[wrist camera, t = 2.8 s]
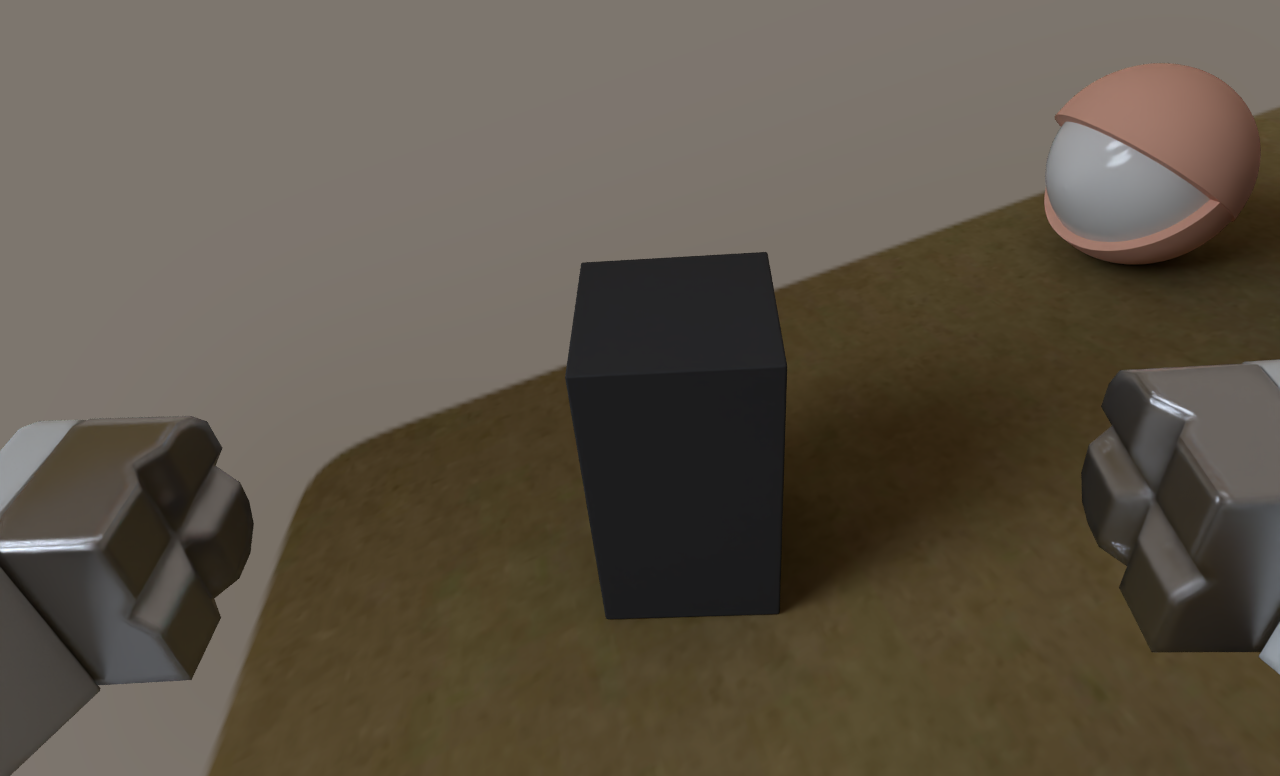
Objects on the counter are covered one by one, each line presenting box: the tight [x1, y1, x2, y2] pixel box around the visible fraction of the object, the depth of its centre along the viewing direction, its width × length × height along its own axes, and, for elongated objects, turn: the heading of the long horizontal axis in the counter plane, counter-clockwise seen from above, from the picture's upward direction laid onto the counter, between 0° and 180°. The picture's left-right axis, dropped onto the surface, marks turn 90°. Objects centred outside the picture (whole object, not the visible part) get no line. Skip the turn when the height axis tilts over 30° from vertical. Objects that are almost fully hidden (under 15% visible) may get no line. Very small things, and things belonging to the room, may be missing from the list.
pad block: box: [565, 252, 787, 619], centre depth 25 cm, size 5×5×9 cm
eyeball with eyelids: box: [1044, 63, 1261, 264], centre depth 36 cm, size 8×8×8 cm
